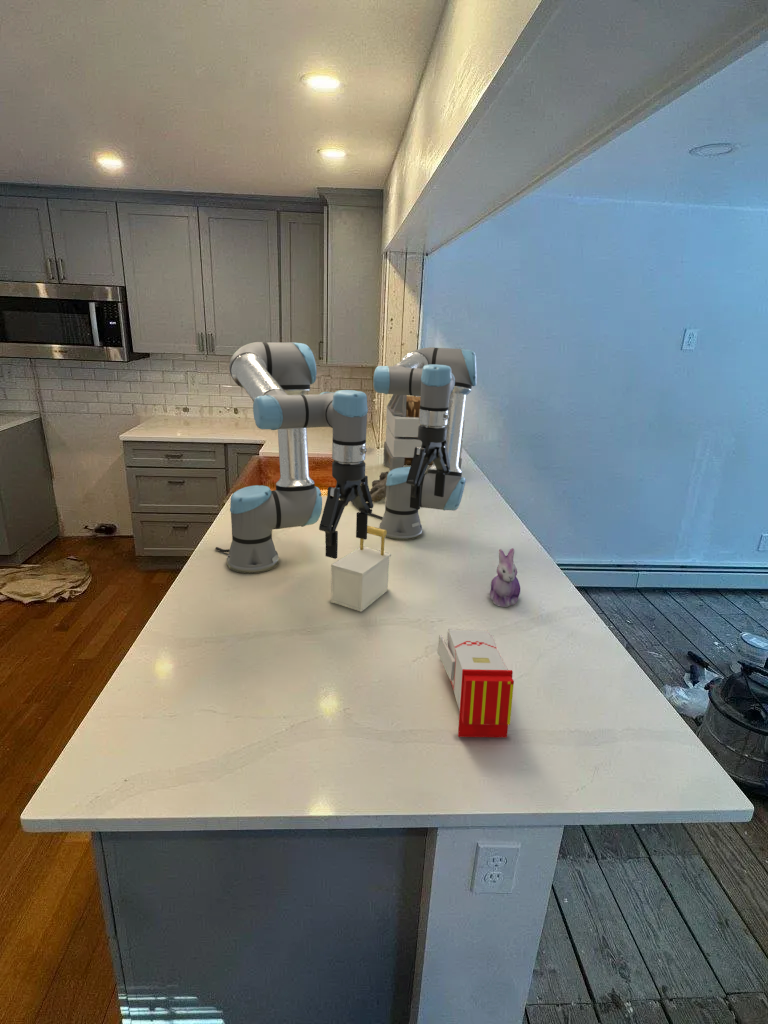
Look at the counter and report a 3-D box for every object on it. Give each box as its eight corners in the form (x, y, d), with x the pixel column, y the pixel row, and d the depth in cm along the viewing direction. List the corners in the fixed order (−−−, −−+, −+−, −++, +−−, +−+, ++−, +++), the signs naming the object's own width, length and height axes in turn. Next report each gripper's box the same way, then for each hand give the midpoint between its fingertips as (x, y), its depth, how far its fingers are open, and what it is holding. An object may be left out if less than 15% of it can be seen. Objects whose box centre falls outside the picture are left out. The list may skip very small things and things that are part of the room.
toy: (488, 613, 130) (523, 677, 101) (484, 667, 133) (517, 744, 104) (435, 612, 130) (455, 676, 101) (432, 666, 133) (451, 743, 103)
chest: (358, 581, 164) (359, 549, 160) (387, 590, 160) (389, 557, 156) (330, 602, 152) (331, 567, 148) (361, 611, 148) (362, 576, 144)
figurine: (502, 611, 151) (509, 560, 146) (479, 594, 159) (485, 545, 154) (530, 604, 155) (537, 554, 150) (506, 588, 163) (512, 540, 158)
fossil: (368, 477, 249) (395, 458, 244) (381, 493, 252) (408, 475, 247) (361, 498, 229) (391, 478, 224) (375, 515, 232) (405, 496, 227)
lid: (361, 548, 161) (362, 521, 158) (390, 556, 157) (392, 528, 154) (331, 567, 148) (331, 538, 146) (362, 576, 144) (363, 546, 141)
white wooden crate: (382, 463, 289) (386, 382, 275) (445, 464, 293) (451, 384, 279) (390, 482, 257) (394, 392, 243) (460, 483, 261) (468, 394, 247)
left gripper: (332, 475, 116) (331, 569, 123) (389, 452, 137) (385, 534, 144) (302, 470, 119) (303, 561, 126) (362, 448, 140) (359, 528, 147)
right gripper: (421, 434, 137) (416, 517, 144) (466, 421, 157) (459, 494, 164) (395, 430, 141) (391, 510, 148) (442, 417, 161) (436, 488, 168)
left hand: (347, 547), depth 135 cm, fingers open, 13 cm apart
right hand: (427, 502), depth 156 cm, fingers open, 13 cm apart
